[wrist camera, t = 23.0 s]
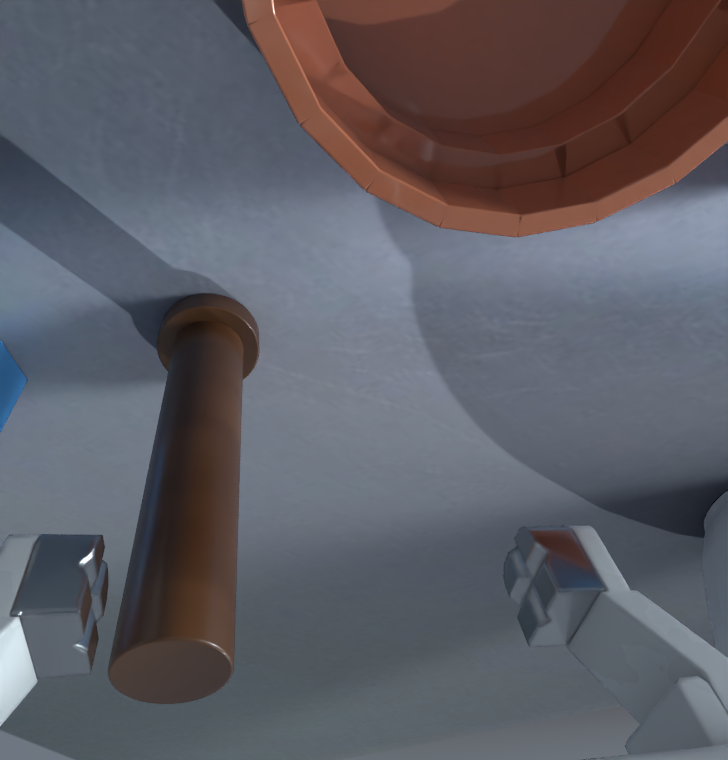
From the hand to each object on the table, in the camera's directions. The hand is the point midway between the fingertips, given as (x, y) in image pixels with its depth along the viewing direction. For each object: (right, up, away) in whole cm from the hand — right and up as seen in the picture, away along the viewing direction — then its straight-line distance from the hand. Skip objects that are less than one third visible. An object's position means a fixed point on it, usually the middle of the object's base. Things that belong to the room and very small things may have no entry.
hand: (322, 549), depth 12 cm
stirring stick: (-6, +5, +16) cm, 18 cm away
